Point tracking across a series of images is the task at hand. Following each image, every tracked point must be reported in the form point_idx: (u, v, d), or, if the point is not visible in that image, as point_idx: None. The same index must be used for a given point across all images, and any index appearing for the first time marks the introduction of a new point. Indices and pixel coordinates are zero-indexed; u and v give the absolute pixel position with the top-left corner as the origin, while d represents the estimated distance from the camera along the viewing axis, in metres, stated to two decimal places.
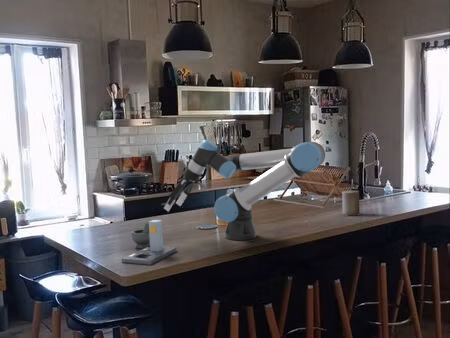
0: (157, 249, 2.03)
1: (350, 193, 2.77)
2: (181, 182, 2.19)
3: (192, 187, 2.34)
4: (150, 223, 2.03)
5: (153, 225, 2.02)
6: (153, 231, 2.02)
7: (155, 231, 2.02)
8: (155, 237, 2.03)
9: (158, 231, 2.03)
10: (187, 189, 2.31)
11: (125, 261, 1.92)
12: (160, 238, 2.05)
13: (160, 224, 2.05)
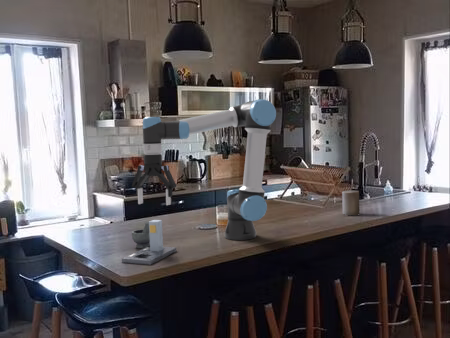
0: (157, 249, 2.03)
1: (350, 193, 2.77)
2: (167, 168, 2.00)
3: None
4: (150, 223, 2.03)
5: (153, 225, 2.02)
6: (153, 231, 2.02)
7: (155, 231, 2.02)
8: (155, 237, 2.03)
9: (158, 231, 2.03)
10: (144, 180, 2.06)
11: (125, 261, 1.92)
12: (160, 238, 2.05)
13: (160, 224, 2.05)
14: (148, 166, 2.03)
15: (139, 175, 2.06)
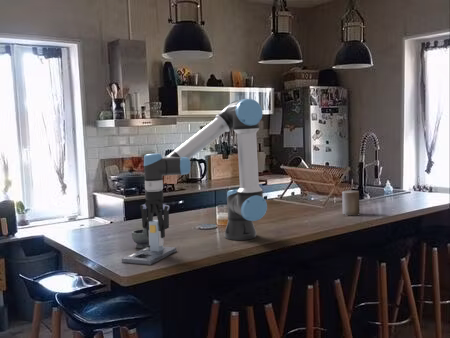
0: (157, 249, 2.03)
1: (350, 193, 2.77)
2: (167, 209, 2.02)
3: None
4: (150, 223, 2.03)
5: (153, 225, 2.02)
6: (153, 231, 2.02)
7: (155, 231, 2.02)
8: (155, 237, 2.03)
9: None
10: (152, 218, 2.06)
11: (125, 261, 1.92)
12: None
13: None
14: (148, 201, 2.04)
15: (145, 214, 2.06)
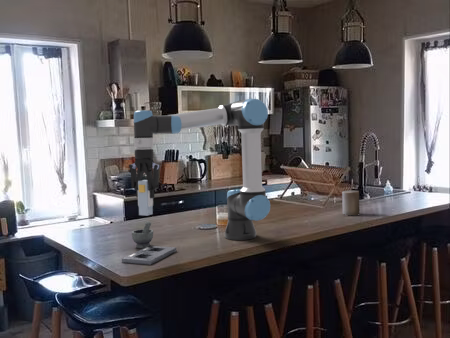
0: (146, 210, 1.96)
1: (350, 193, 2.77)
2: (157, 168, 1.94)
3: None
4: (139, 182, 1.96)
5: (142, 184, 1.95)
6: (142, 191, 1.95)
7: (144, 191, 1.95)
8: (144, 197, 1.96)
9: (147, 191, 1.96)
10: (141, 178, 1.99)
11: (125, 261, 1.92)
12: None
13: None
14: (138, 160, 1.97)
15: (134, 174, 1.99)
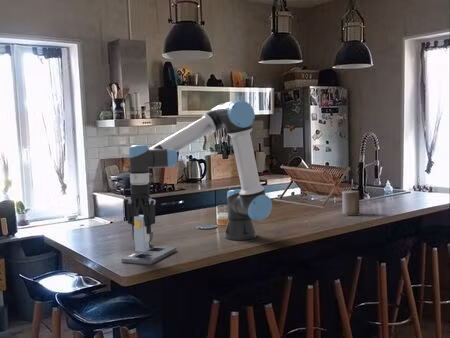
0: (142, 246, 1.93)
1: (350, 193, 2.77)
2: (153, 203, 1.91)
3: None
4: (135, 218, 1.93)
5: (138, 220, 1.92)
6: (138, 227, 1.92)
7: (140, 227, 1.92)
8: (141, 232, 1.92)
9: (143, 227, 1.92)
10: (137, 213, 1.95)
11: (125, 261, 1.92)
12: None
13: None
14: (134, 195, 1.93)
15: (130, 209, 1.96)
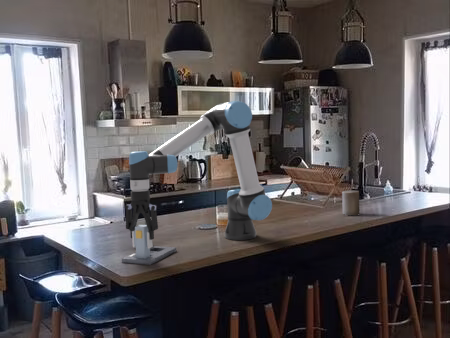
0: (143, 256, 1.93)
1: (350, 193, 2.77)
2: (154, 209, 1.91)
3: None
4: (136, 228, 1.93)
5: (139, 230, 1.92)
6: (139, 237, 1.92)
7: (141, 237, 1.92)
8: (142, 242, 1.93)
9: (144, 237, 1.93)
10: (136, 219, 1.96)
11: (125, 261, 1.92)
12: None
13: (147, 229, 1.95)
14: (134, 202, 1.93)
15: (129, 215, 1.96)
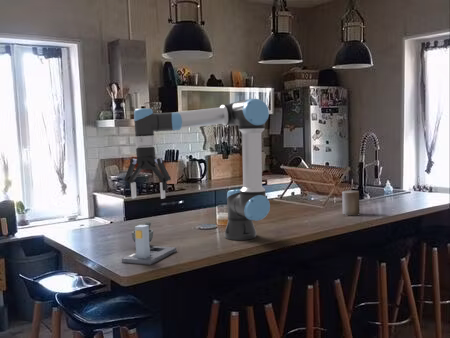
0: (143, 256, 1.93)
1: (350, 193, 2.77)
2: (160, 161, 1.95)
3: None
4: (136, 228, 1.93)
5: (139, 230, 1.92)
6: (139, 237, 1.92)
7: (141, 237, 1.92)
8: (142, 242, 1.93)
9: (144, 237, 1.93)
10: (137, 174, 2.00)
11: (125, 261, 1.92)
12: (147, 244, 1.95)
13: (147, 229, 1.95)
14: (141, 159, 1.97)
15: (132, 169, 2.00)
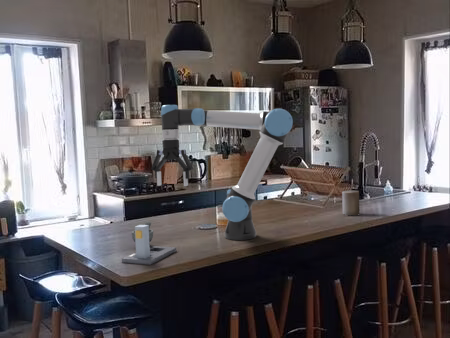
0: (143, 256, 1.93)
1: (350, 193, 2.77)
2: (184, 152, 2.17)
3: None
4: (136, 228, 1.93)
5: (139, 230, 1.92)
6: (139, 237, 1.92)
7: (141, 237, 1.92)
8: (142, 242, 1.93)
9: (144, 237, 1.93)
10: (163, 164, 2.23)
11: (125, 261, 1.92)
12: (147, 244, 1.95)
13: (147, 229, 1.95)
14: (166, 150, 2.20)
15: (158, 159, 2.23)
